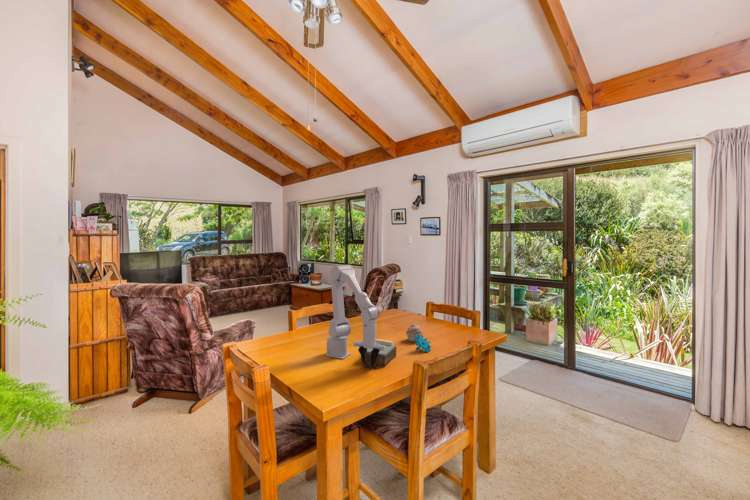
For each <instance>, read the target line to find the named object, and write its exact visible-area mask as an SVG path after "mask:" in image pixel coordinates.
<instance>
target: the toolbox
mask: <svg viewBox="0 0 750 500" xmlns="http://www.w3.org/2000/svg"><path fill="white" fill-rule="evenodd" d="M396 357H397V346H396V347H395V348H394V349H393V350H392V351H390V352H389V353H388V354H387V355H386V356H380V355H378V356H377V358H376V362H375V365H374V366H380V367H383V368H385V367H386V366H387V365H388V364H390V362H391V361H393V360H394V359H395V358H396ZM360 363H362V364H363V361H362V357H361V356H360Z"/></svg>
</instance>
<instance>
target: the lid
mask: <svg viewBox="0 0 750 500" xmlns="http://www.w3.org/2000/svg"><path fill="white" fill-rule="evenodd" d="M376 343H378V344H381V345H385V351H382V350H380V351H379V353H378V355H380V356H386V355H387V354H388V353H389V352H390V351H392V350H393V349H394V348H395V347H396V348H397V344H396V343H395V344H394V341H392V340H386V339H379V338H376ZM372 350H373V349H371V348H367V352H371V351H372Z"/></svg>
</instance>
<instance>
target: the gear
mask: <svg viewBox="0 0 750 500" xmlns="http://www.w3.org/2000/svg"><path fill="white" fill-rule="evenodd" d="M424 337H425V336H424V335H423V334H422V335H421V337H420V335H419V334H418V336H416V337H415V338H416V339H415V340H414V341H416V342H415V345H416V346H417V347H416V350H421V349H422V350H421V351H422V352H423V353H429V352H430V351H431V347H432V345H430V344H431V343H432V341H431V340H429V341H428V338H427V337H425V338H424Z"/></svg>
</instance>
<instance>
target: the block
mask: <svg viewBox="0 0 750 500" xmlns="http://www.w3.org/2000/svg"><path fill="white" fill-rule="evenodd" d="M373 368H374V366H372V355H371V352H367V353H365V364H364V370H365V369H366V370H370V369H371V370H372V369H373Z"/></svg>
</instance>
